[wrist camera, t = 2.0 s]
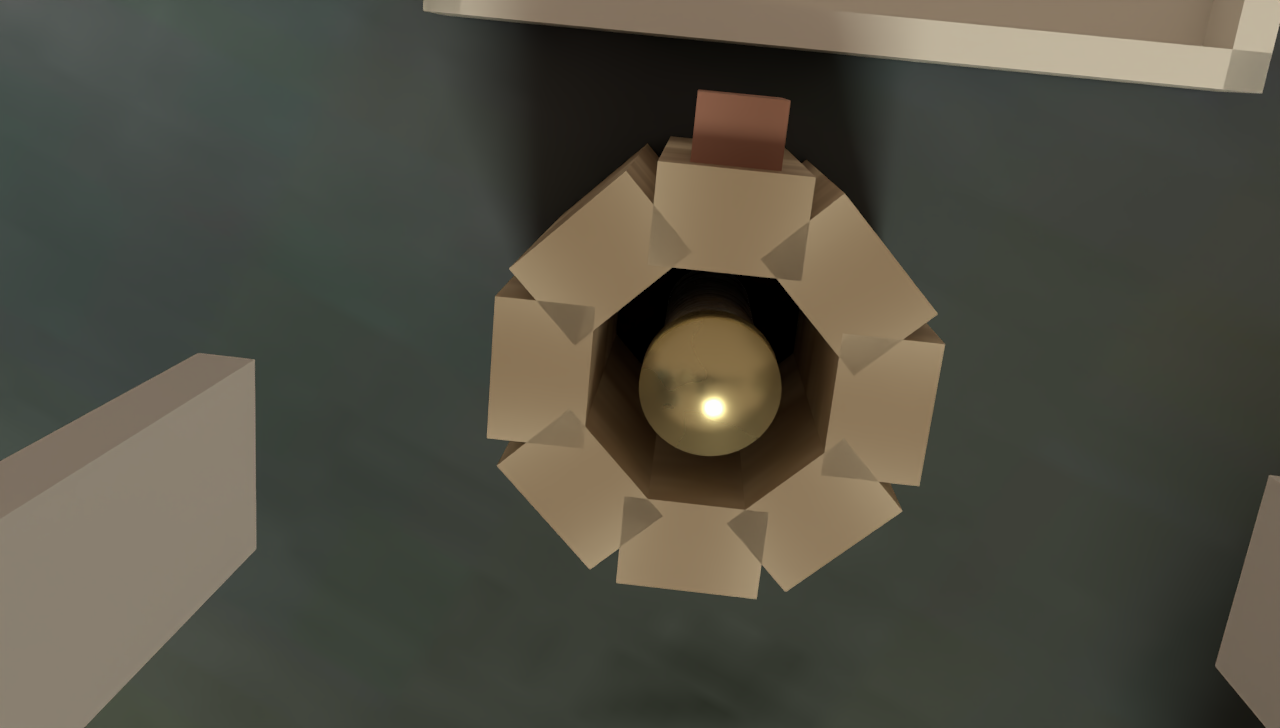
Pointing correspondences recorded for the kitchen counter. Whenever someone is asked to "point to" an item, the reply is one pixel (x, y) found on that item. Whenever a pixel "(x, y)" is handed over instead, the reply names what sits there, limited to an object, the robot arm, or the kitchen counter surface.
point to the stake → (709, 369)
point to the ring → (810, 377)
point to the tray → (955, 32)
